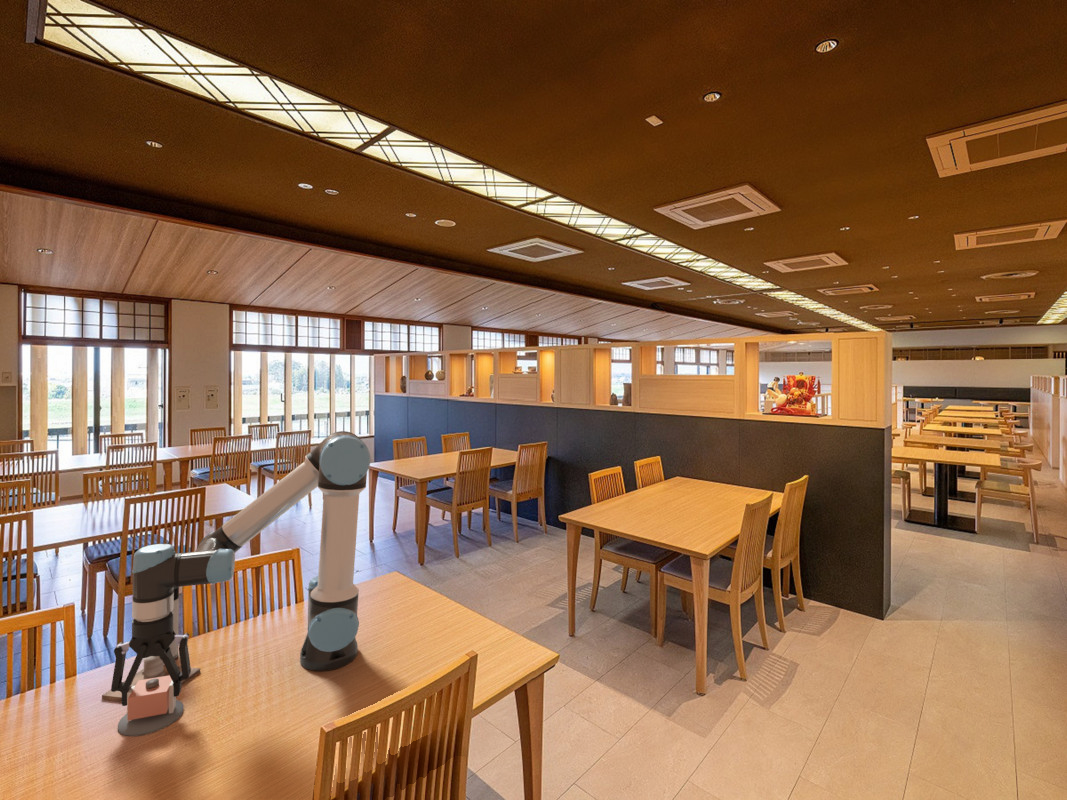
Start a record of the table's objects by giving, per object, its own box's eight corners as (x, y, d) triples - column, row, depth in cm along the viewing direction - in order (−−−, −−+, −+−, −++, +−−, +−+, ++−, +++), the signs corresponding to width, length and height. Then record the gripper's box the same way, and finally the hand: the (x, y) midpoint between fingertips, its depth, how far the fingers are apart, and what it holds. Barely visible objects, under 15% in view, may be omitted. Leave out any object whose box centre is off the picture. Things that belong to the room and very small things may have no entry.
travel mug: (164, 666, 135) (165, 593, 134) (144, 663, 136) (144, 590, 136) (184, 654, 141) (185, 584, 140) (165, 651, 142) (166, 581, 142)
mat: (196, 704, 120) (196, 701, 120) (152, 739, 108) (153, 736, 108) (150, 698, 122) (150, 696, 122) (102, 732, 110) (103, 730, 110)
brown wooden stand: (200, 672, 133) (200, 646, 133) (154, 705, 119) (155, 676, 119) (152, 667, 135) (152, 641, 135) (101, 699, 121) (102, 670, 121)
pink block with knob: (166, 713, 113) (166, 687, 113) (127, 720, 110) (128, 693, 110) (174, 695, 120) (174, 670, 119) (138, 701, 117) (138, 676, 117)
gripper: (207, 601, 122) (206, 694, 122) (104, 614, 114) (103, 713, 114) (201, 615, 115) (200, 713, 116) (90, 629, 107) (89, 735, 108)
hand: (151, 713), depth 115 cm, fingers closed on pink block with knob, 7 cm apart
